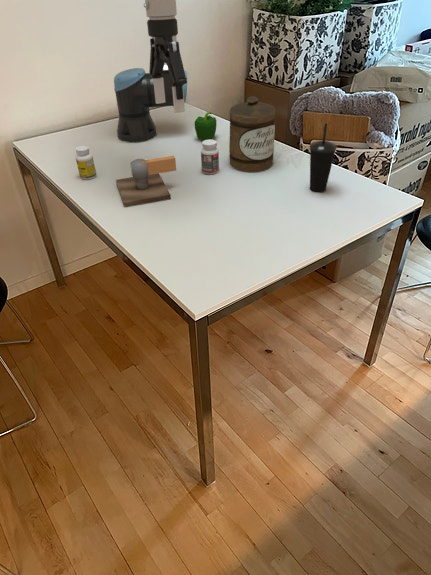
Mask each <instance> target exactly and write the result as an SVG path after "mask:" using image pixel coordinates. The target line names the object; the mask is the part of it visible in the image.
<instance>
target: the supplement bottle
mask: <svg viewBox="0 0 431 575" xmlns="http://www.w3.org/2000/svg"><path fill="white" fill-rule="evenodd" d="M75 152H76V155H75V161H76V165H77V170H78V173H79V174H78V175H79V178H81V179H82V180H93V179H95V178H96V177H97V169H96V165H95V160H94V156H93V154H92V153H91V152H90V148H89V146H88V145H79V146H76V148H75Z"/></svg>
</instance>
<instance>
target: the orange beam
mask: <svg viewBox="0 0 431 575" xmlns="http://www.w3.org/2000/svg"><path fill="white" fill-rule="evenodd" d="M176 160H177V159H176V157H175V155H168V156H161V157H155V158H149V159H145V158H137V159H133V160H131V161H130V163H129V164H130V170H131V175H132V176H131V177H134V178H138V179H141V178H145V177H147V176H148V175H152V174H158V173H159V174H163V173H168V172H175V171H177V161H176Z"/></svg>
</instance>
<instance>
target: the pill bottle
mask: <svg viewBox="0 0 431 575" xmlns="http://www.w3.org/2000/svg"><path fill="white" fill-rule="evenodd" d="M201 145H202V148H201V150H200V156H201V157H200V160H201V172H202V173H203V174H205V175H215V174H217V173H219V170H220V163H219V162H220V161H219V160H220V158H219V149H218V147H217V146H218V143H217V140H214V139H212V140H211V139H209V140H205V141H202V142H201Z"/></svg>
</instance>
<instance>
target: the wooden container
mask: <svg viewBox="0 0 431 575" xmlns="http://www.w3.org/2000/svg"><path fill="white" fill-rule="evenodd" d="M276 110H277V109H276V108H275V106H274V105H271V104H270V103H266V102H260V101H259V97H257V96H256V95H250V96H249V97H247V99H246V101H245V102H240V103H237V104H234V105H232V106H231V107H230V109H229V141H228V142H229V146H228V147H229V149H228V150H229V151H228V152H229V154H228V155H229V156H228V157H229V165H230V166H231V168H232V169H235V170H237V171H239V172H240V171H241V172H244V173H245V172H246V173H257V172H262V171H266V170H268V169H270V168H271V167H273V164H274V152H275V133H276V132H275V130H276V113H277V111H276Z"/></svg>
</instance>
